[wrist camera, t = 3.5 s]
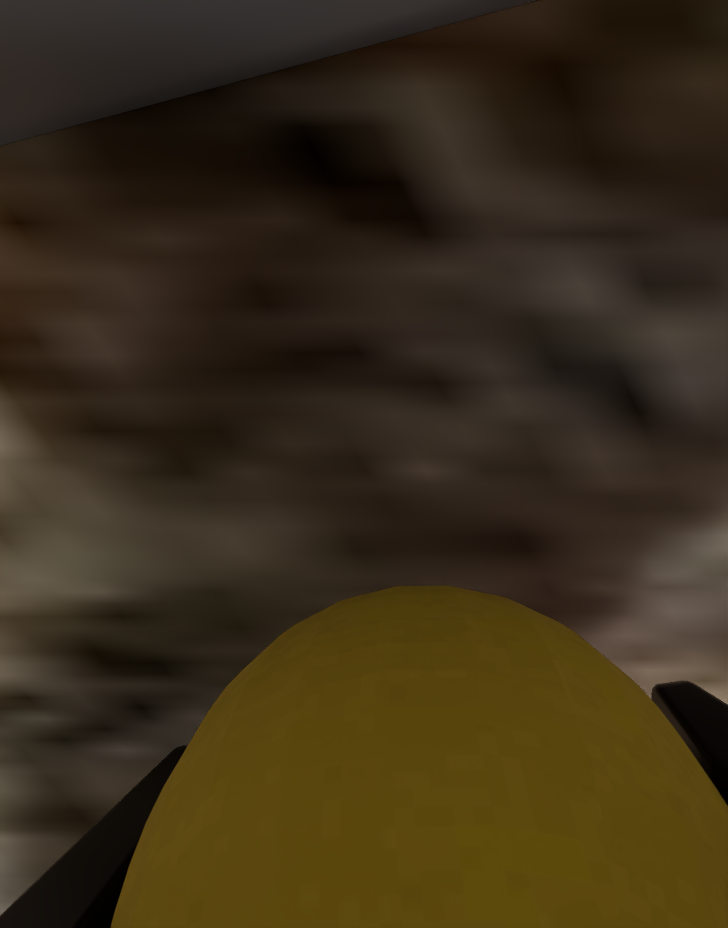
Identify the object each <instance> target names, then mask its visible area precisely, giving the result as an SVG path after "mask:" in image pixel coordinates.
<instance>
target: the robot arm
mask: <svg viewBox="0 0 728 928" xmlns="http://www.w3.org/2000/svg"><path fill="white" fill-rule="evenodd" d="M652 701H653V702H654V703H655V704H656V705H657V706H658V707H659V709H660V710H661V711H662V713H663V714H664V715H665V717H666V718H667V719H668V720H669V722H670V723H671V724H672V726H673V727H674V728H675V730H676V731H677V732H678V734H679V735H680V736H681V738H682V739H683V741H684V742H685V743H686V745H687V746H688V748H689V749H690V751H691V752H692V754H693V755H694V757H695V758H696V759H697V761H698V762H699V764H700V765H701V767H702V768H703V770H704V771H705V773H706V774H707V775H708V777H709V778H710V780H711V781H712V783H713V784H714V786H715V787H716V789H717V790H718V792H719V793H720V795H721V796H722V798H723V799H724V801H725V803H726V804H727V806H728V705H727V704H726V703H724V702H723V701H721V700H719V699H718V698H716V697H715V696H713V695H711V694H710V693H708V692H707V691H705V690H703V689H702V688H700V687H698V686H697V685H695V684H693V683H691V682H689V681H677V682H670V683H662V684H657V685H655V686H654V687H653V689H652ZM187 746H188V745H184V746H180V747H177V748H175V749H174V750H173V751H172V752H171V753H170V754H169V755H168V756H167V757H166V758H164V759H163V760H162V761H161V762H160V763H159V764H158V765H157V766H156V767H155V768H154V769H153V770H152V771H151V772H150V773H149V774H148V775H147V776H146V777H145V778H144V779H143V780H141V781H140V782H139V783H138V784H137V785H136V786H135V787H134V788H133V789H132V790H131V791H130V792H129V793H128V794H127V795H126V796H125V797H124V798H123V799H122V800H121V801H120V802H118V803H117V804H116V805H115V806H114V807H113V808H112V809H111V810H110V811H109V812H108V813H107V814H106V815H105V816H104V817H103V818H102V819H101V820H100V821H99V822H98V823H97V824H95V825H94V826H93V827H92V828H91V829H90V830H89V831H88V832H87V833H86V834H85V835H84V836H83V837H82V838H81V839H80V840H79V841H78V842H77V843H76V844H75V845H74V846H72V847H71V848H70V849H69V850H68V851H67V852H66V853H65V854H64V855H63V856H62V857H61V858H60V859H59V860H58V861H57V862H56V863H55V864H54V865H53V866H52V867H51V868H49V869H48V870H47V871H46V872H45V873H44V874H43V875H42V876H41V877H40V878H39V879H38V880H37V881H36V882H35V883H34V884H33V885H32V886H31V887H30V888H29V889H28V890H26V891H25V892H24V893H23V894H22V895H21V896H20V897H19V898H18V899H17V900H16V901H15V902H14V903H13V904H12V905H11V906H10V907H9V908H8V909H7V910H6V911H5V912H3V913H2V914H1V915H0V928H111V924H112V920H113V916H114V912H115V909H116V906H117V903H118V900H119V897H120V893H121V890H122V887H123V884H124V881H125V878H126V874H127V871H128V868H129V865H130V862H131V860H132V857H133V855H134V852H135V850H136V847H137V844H138V842H139V839H140V837H141V834H142V832H143V829H144V827H145V824H146V822H147V820H148V818H149V816H150V813H151V811H152V809H153V807H154V805H155V803H156V801H157V799H158V797H159V795H160V793H161V791H162V789H163V787H164V785H165V783H166V782H167V780H168V778H169V777H170V775H171V773H172V772H173V770H174V768H175V767H176V765H177V763H178V762H179V760H180V758H181V756H182V755H183V753H184V751H185V750H186V748H187Z"/></svg>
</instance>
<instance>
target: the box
mask: <svg viewBox="0 0 728 928" xmlns="http://www.w3.org/2000/svg"><path fill="white" fill-rule="evenodd" d="M533 1H537V0H0V146H1V145H5V144H9V143H12V142H16V141H20V140H23V139H27V138H31V137H34V136H38V135H42V134H45V133H49V132H53V131H57V130H60V129H64V128H68V127H71V126H75V125H79V124H82V123H86V122H90V121H93V120H97V119H101V118H105V117H108V116H112V115H116V114H119V113H123V112H127V111H130V110H134V109H138V108H141V107H145V106H149V105H153V104H156V103H160V102H164V101H167V100H171V99H175V98H178V97H182V96H186V95H189V94H193V93H197V92H201V91H204V90H208V89H212V88H215V87H219V86H223V85H226V84H230V83H234V82H237V81H241V80H245V79H249V78H252V77H256V76H260V75H263V74H267V73H271V72H274V71H278V70H282V69H285V68H289V67H293V66H297V65H300V64H304V63H308V62H311V61H315V60H319V59H322V58H326V57H330V56H333V55H337V54H341V53H345V52H348V51H352V50H356V49H359V48H363V47H367V46H370V45H374V44H378V43H381V42H385V41H389V40H393V39H396V38H400V37H404V36H407V35H411V34H415V33H418V32H422V31H426V30H429V29H433V28H437V27H441V26H444V25H448V24H452V23H455V22H459V21H463V20H466V19H470V18H474V17H477V16H481V15H485V14H489V13H492V12H496V11H500V10H503V9H507V8H511V7H514V6H518V5H522V4H525V3H529V2H533Z"/></svg>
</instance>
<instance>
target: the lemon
mask: <svg viewBox="0 0 728 928" xmlns="http://www.w3.org/2000/svg"><path fill="white" fill-rule="evenodd" d="M111 928H728V806H727V804H726V803H725V801H724V799H723V798H722V796H721V795H720V793H719V792H718V790H717V789H716V787H715V786H714V784H713V783H712V781H711V780H710V778H709V777H708V775H707V774H706V773H705V771H704V770H703V768H702V767H701V765H700V764H699V762H698V761H697V759H696V758H695V757H694V755H693V754H692V752H691V751H690V749H689V748H688V746H687V745H686V743H685V742H684V741H683V739H682V738H681V736H680V735H679V734H678V732H677V731H676V730H675V728H674V727H673V726H672V724H671V723H670V722H669V720H668V719H667V718H666V717H665V715H664V714H663V713H662V711H661V710H660V709H659V707H658V706H657V705H656V704H655V703H654V702H653V701H652V700H651V699H650V698H649V697H648V695H647V694H646V693H645V692H644V691H643V690H642V689H641V688H640V687H639V686H638V685H637V684H636V683H635V682H634V681H633V680H632V679H630V678H629V677H628V676H627V675H626V674H625V673H624V672H622V671H621V670H620V669H619V668H618V667H617V666H615V665H614V664H613V663H612V662H611V661H609V660H608V659H607V658H606V657H604V656H603V655H602V654H601V653H600V652H598V651H597V650H596V649H595V648H593V647H592V646H591V645H590V644H589V643H587V642H586V641H585V640H584V639H582V638H581V637H580V636H579V635H578V634H576V633H575V632H574V631H573V630H571V629H569V628H568V627H566V626H564V625H563V624H561V623H559V622H557V621H556V620H554V619H551V618H549V617H547V616H545V615H543V614H541V613H538V612H536V611H534V610H532V609H530V608H528V607H525V606H523V605H521V604H519V603H517V602H515V601H512V600H510V599H508V598H506V597H501V596H497V595H492V594H487V593H482V592H477V591H472V590H467V589H462V588H457V587H452V586H447V585H436V586H396V587H392V588H387V589H383V590H379V591H375V592H371V593H367V594H363V595H359V596H355V597H351V598H347V599H344V600H341V601H339V602H337V603H335V604H333V605H331V606H329V607H327V608H325V609H324V610H322V611H320V612H318V613H316V614H314V615H312V616H310V617H308V618H306V619H305V620H303V621H301V622H299V623H297V624H295V625H294V626H292V627H291V628H289V629H288V630H287V631H285V632H284V633H282V634H281V635H280V636H279V637H278V638H277V639H276V640H274V641H273V642H272V643H271V644H270V645H269V646H268V647H267V648H266V649H265V650H264V651H262V652H261V653H260V654H259V655H258V656H257V657H256V658H255V659H254V660H253V661H252V662H250V663H249V664H248V665H247V666H246V667H245V668H244V669H243V670H242V671H241V672H240V673H239V674H238V675H237V676H236V677H235V678H234V679H233V680H232V681H231V682H230V683H229V685H228V686H227V687H226V688H225V689H224V690H223V692H222V693H221V694H220V696H219V697H218V699H217V700H216V701H215V703H214V704H213V705H212V707H211V708H210V709H209V711H208V713H207V714H206V716H205V718H204V719H203V721H202V723H201V724H200V726H199V728H198V729H197V731H196V733H195V734H194V736H193V738H192V740H191V741H190V743H189V745H188V746H187V748H186V750H185V751H184V753H183V755H182V756H181V758H180V760H179V762H178V763H177V765H176V767H175V768H174V770H173V772H172V773H171V775H170V777H169V778H168V780H167V782H166V783H165V785H164V787H163V789H162V791H161V793H160V795H159V797H158V799H157V801H156V803H155V805H154V807H153V809H152V811H151V813H150V816H149V818H148V820H147V822H146V824H145V827H144V829H143V832H142V834H141V837H140V839H139V842H138V844H137V847H136V850H135V852H134V855H133V857H132V860H131V862H130V865H129V868H128V871H127V874H126V878H125V881H124V884H123V887H122V890H121V893H120V897H119V900H118V903H117V906H116V909H115V912H114V916H113V920H112V924H111Z"/></svg>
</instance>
